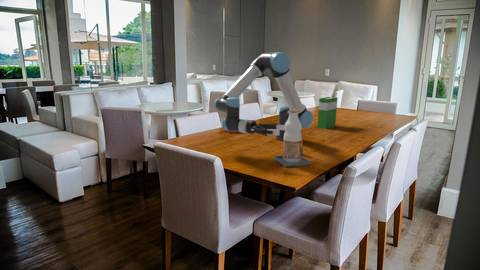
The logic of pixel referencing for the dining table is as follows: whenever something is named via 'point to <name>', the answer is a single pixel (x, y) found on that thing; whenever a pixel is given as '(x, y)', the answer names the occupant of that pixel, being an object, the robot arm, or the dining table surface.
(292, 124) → the white milk bottle
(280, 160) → the tray
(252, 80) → the robot arm
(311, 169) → the dining table surface
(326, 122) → the green white box
